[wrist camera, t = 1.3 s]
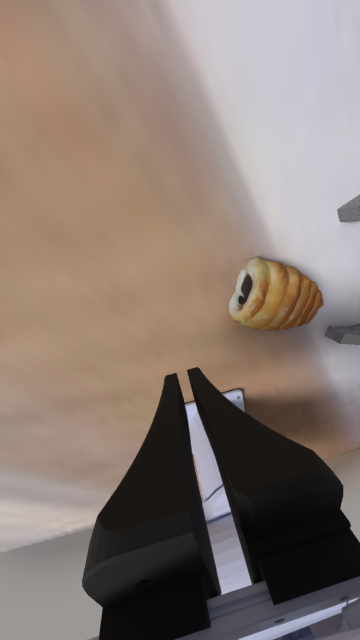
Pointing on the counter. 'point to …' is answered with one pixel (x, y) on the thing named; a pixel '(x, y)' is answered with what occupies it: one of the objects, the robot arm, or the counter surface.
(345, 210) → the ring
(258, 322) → the pastry
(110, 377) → the counter surface
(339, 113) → the counter surface
